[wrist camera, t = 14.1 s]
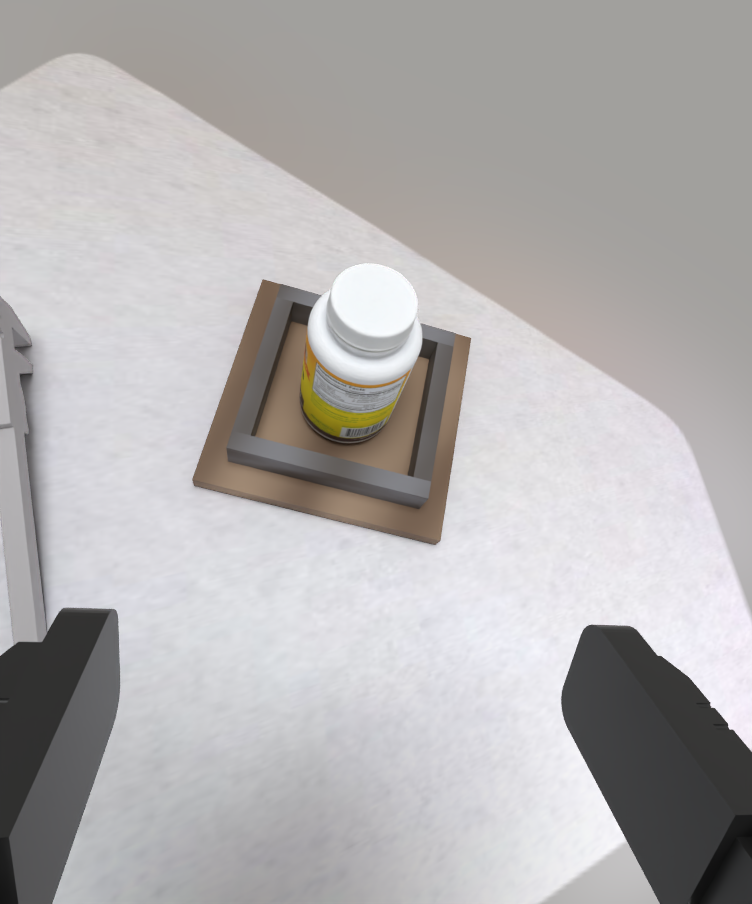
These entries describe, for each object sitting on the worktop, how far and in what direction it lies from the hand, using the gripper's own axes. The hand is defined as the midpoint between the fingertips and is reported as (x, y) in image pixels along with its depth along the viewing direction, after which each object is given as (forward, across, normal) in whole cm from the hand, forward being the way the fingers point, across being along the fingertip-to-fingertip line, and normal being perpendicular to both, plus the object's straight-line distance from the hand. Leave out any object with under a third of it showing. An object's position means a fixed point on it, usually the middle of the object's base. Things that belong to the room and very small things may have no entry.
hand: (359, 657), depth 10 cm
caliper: (+21, +14, +10) cm, 27 cm away
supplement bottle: (+25, -2, +4) cm, 26 cm away
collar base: (+26, -2, +4) cm, 26 cm away
